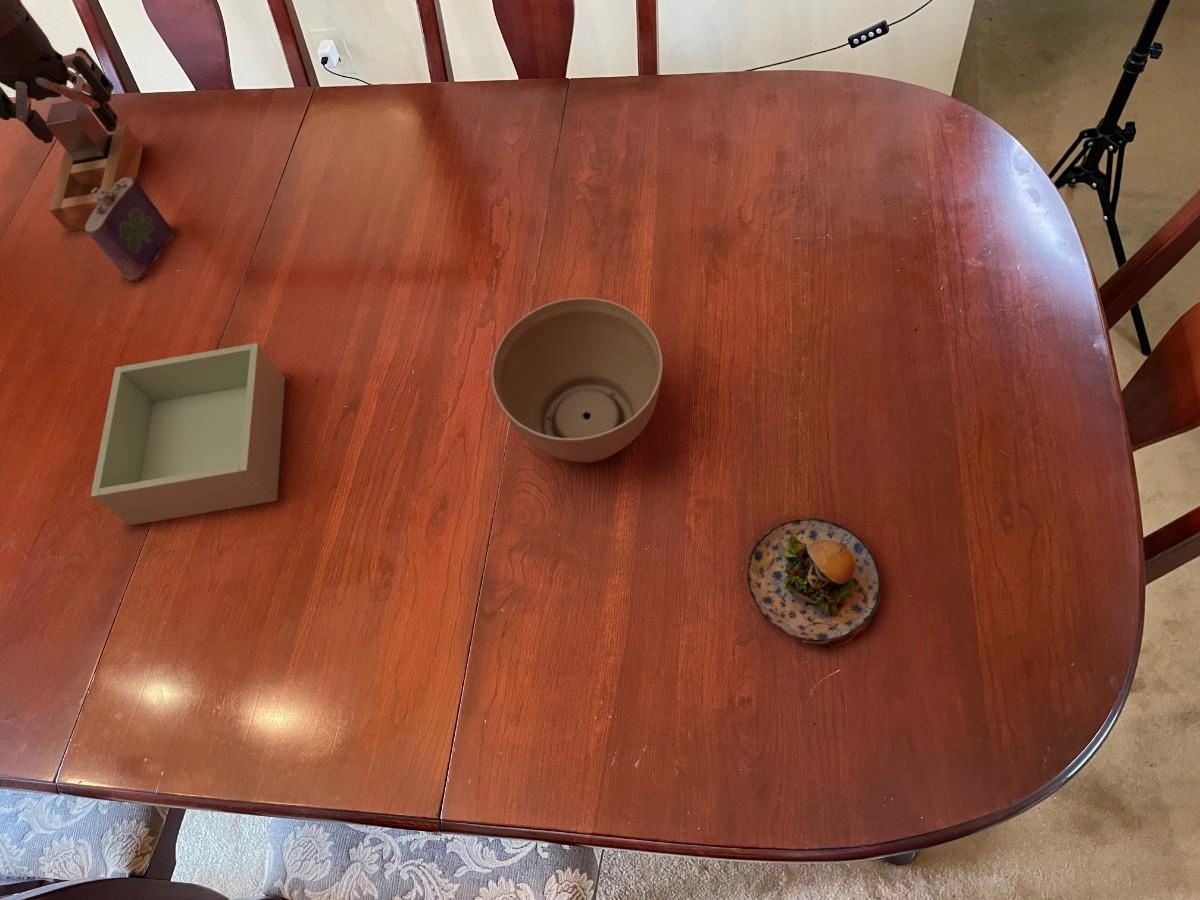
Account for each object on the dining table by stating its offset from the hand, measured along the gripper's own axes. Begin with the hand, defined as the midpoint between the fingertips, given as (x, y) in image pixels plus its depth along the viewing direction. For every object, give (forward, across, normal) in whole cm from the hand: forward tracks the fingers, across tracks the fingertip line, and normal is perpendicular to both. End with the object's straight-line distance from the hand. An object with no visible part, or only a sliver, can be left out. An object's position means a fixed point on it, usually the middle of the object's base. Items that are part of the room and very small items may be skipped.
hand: (82, 133), depth 111 cm
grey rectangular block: (+7, 0, 0) cm, 7 cm away
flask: (+7, +8, -17) cm, 20 cm away
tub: (+7, +19, -48) cm, 52 cm away
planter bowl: (+7, +60, -53) cm, 80 cm away
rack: (+7, 0, -3) cm, 7 cm away
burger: (+7, +78, -74) cm, 108 cm away
